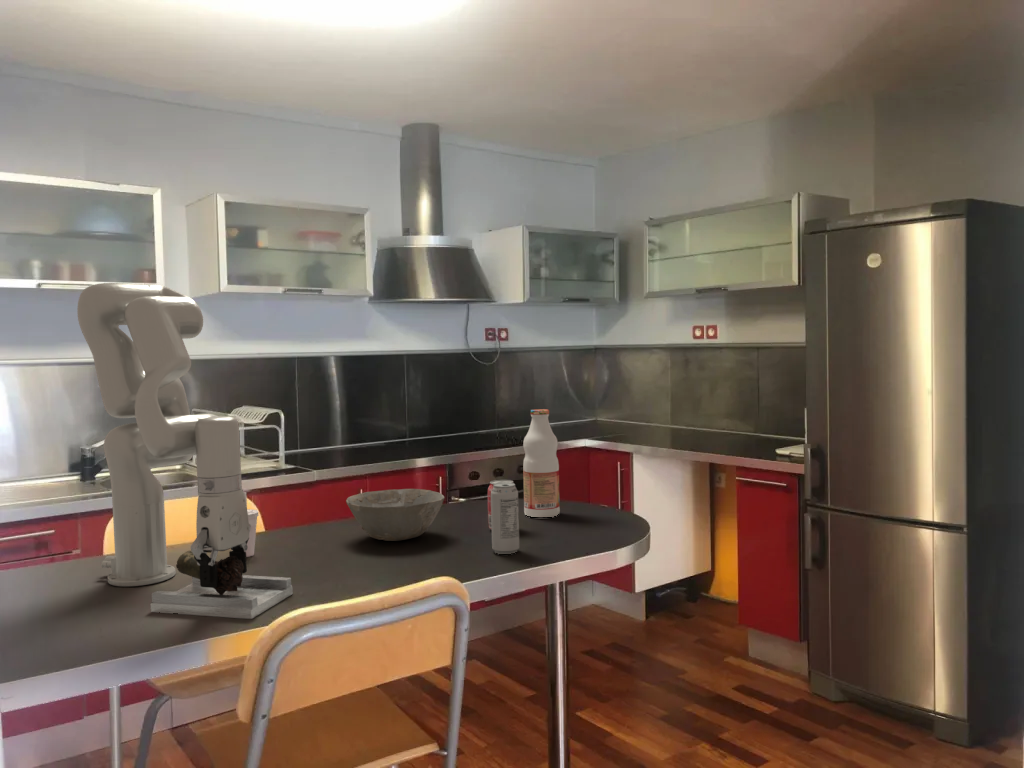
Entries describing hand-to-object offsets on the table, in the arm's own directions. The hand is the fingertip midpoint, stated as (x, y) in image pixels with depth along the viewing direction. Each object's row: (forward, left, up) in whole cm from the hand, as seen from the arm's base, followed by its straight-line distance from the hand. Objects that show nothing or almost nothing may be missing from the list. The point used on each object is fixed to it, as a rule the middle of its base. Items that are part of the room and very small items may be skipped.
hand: (224, 579), depth 151 cm
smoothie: (-15, +31, -5) cm, 35 cm away
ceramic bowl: (+13, +51, -5) cm, 53 cm away
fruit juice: (+42, +81, -5) cm, 91 cm away
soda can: (+36, +63, -5) cm, 73 cm away
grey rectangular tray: (0, 0, -4) cm, 4 cm away
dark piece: (-3, +2, -2) cm, 4 cm away
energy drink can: (+42, +43, -5) cm, 60 cm away
